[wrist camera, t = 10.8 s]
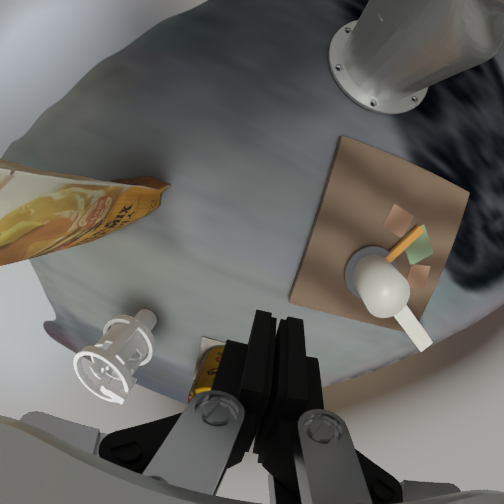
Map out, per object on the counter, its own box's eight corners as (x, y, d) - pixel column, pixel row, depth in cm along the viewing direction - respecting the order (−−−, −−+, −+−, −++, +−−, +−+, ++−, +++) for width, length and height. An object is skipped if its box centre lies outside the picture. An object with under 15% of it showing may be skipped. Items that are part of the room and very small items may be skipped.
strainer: (160, 347, 40) (117, 417, 26) (120, 322, 40) (65, 383, 26) (177, 313, 38) (130, 385, 24) (133, 286, 38) (71, 345, 24)
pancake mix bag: (60, 207, 36) (-104, 271, 9) (168, 147, 32) (-62, 147, 5) (76, 249, 37) (-77, 342, 11) (187, 199, 34) (-21, 304, 7)
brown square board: (339, 136, 30) (342, 135, 28) (463, 191, 30) (469, 192, 28) (288, 297, 36) (288, 302, 35) (408, 327, 36) (412, 333, 34)
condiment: (254, 350, 39) (243, 414, 28) (239, 391, 42) (227, 451, 30) (202, 335, 39) (177, 394, 28) (193, 377, 42) (170, 435, 30)
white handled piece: (333, 271, 33) (344, 295, 26) (404, 206, 30) (431, 217, 23) (401, 350, 35) (417, 380, 29) (461, 298, 32) (486, 320, 26)
